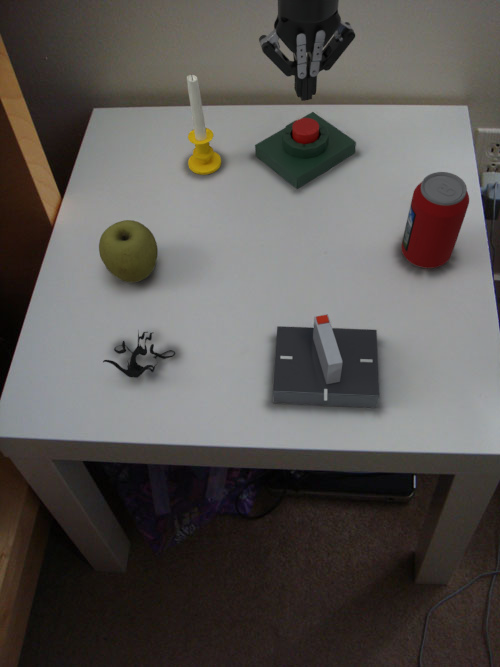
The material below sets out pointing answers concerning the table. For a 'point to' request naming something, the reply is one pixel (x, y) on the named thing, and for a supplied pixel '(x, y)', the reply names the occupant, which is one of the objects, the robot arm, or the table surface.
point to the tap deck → (307, 376)
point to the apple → (128, 250)
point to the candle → (200, 134)
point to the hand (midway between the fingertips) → (305, 96)
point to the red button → (305, 130)
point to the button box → (305, 152)
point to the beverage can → (435, 219)
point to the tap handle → (327, 349)
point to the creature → (134, 367)
